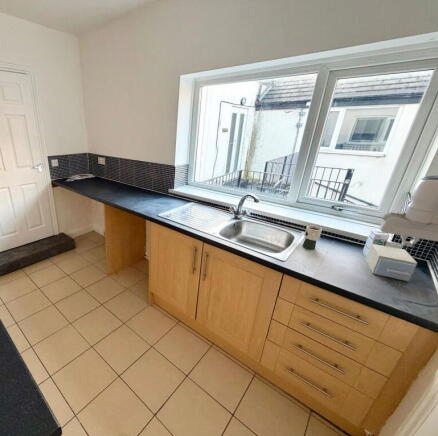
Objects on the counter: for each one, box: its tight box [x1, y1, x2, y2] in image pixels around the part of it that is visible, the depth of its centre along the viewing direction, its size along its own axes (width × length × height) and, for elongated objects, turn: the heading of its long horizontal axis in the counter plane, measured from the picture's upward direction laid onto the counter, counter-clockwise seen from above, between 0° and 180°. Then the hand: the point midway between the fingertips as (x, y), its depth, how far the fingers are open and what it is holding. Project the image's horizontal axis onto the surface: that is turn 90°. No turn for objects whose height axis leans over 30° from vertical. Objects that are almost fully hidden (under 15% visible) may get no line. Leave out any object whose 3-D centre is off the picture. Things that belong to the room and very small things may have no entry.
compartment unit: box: [365, 244, 418, 283], centre depth 116 cm, size 15×13×10 cm
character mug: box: [302, 224, 323, 251], centre depth 136 cm, size 11×7×13 cm, turn 148°
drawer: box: [375, 258, 416, 282], centre depth 113 cm, size 18×11×8 cm, turn 150°
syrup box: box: [362, 229, 390, 258], centre depth 128 cm, size 6×6×14 cm
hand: (406, 245), depth 104 cm, fingers closed
